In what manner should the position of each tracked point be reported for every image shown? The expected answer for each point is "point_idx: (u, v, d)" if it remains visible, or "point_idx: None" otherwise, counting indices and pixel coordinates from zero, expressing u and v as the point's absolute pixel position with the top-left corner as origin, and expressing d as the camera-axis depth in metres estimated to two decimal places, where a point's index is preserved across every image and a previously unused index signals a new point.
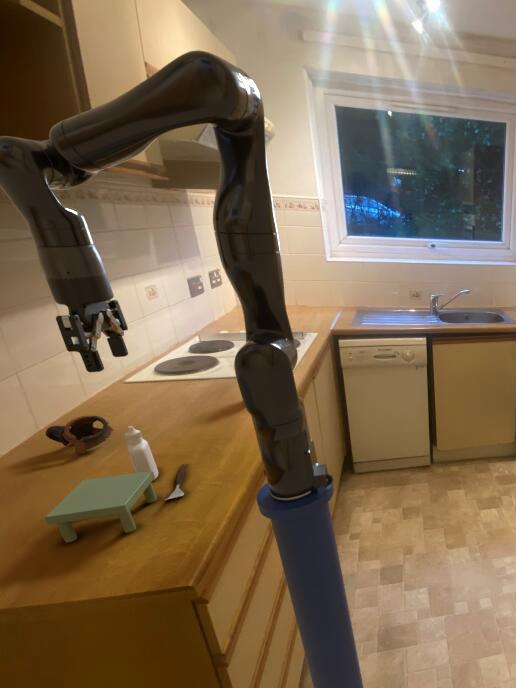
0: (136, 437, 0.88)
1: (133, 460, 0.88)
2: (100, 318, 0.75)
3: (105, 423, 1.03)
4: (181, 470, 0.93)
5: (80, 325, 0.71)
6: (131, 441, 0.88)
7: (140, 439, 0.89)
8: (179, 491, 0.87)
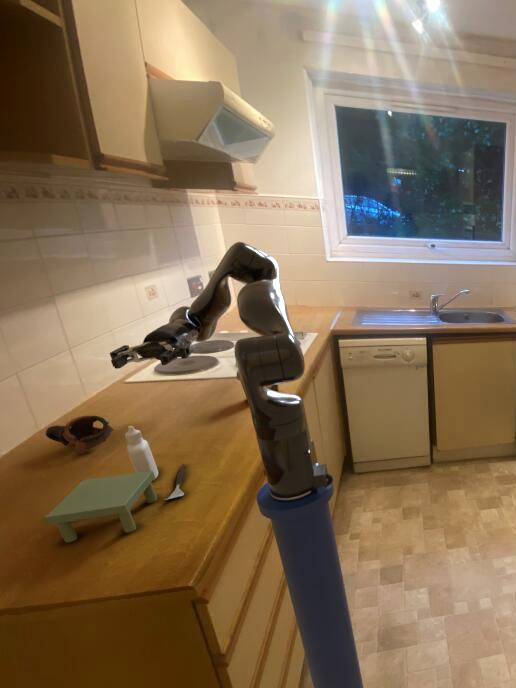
0: (136, 437, 0.88)
1: (133, 460, 0.88)
2: (145, 342, 1.00)
3: (105, 423, 1.03)
4: (181, 470, 0.93)
5: (123, 347, 0.99)
6: (131, 441, 0.88)
7: (140, 439, 0.89)
8: (179, 491, 0.87)
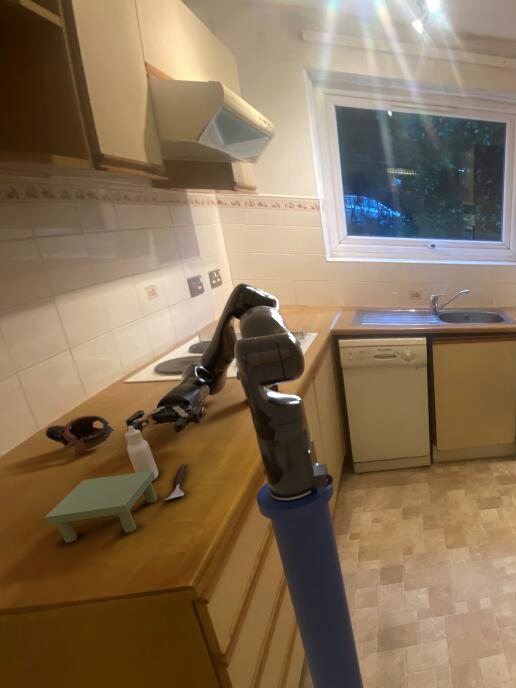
0: (136, 437, 0.88)
1: (133, 460, 0.88)
2: (159, 408, 1.03)
3: (105, 423, 1.03)
4: (181, 470, 0.93)
5: (138, 413, 1.02)
6: (131, 441, 0.88)
7: (140, 439, 0.89)
8: (179, 491, 0.87)
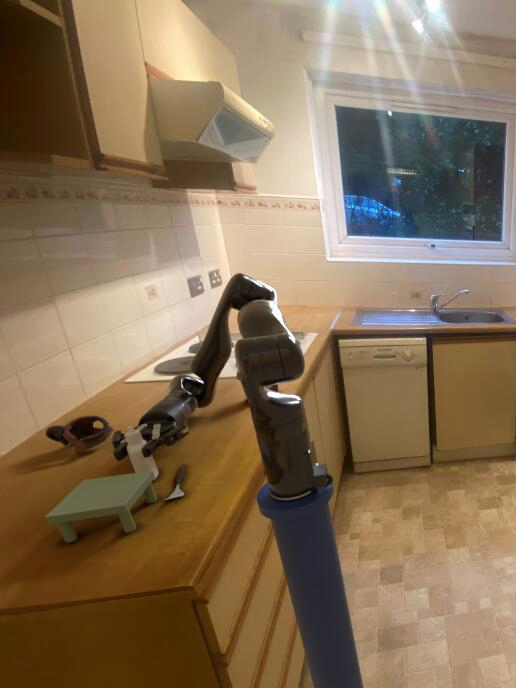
0: (136, 437, 0.88)
1: (133, 460, 0.88)
2: (141, 426, 0.94)
3: (105, 423, 1.03)
4: (181, 470, 0.93)
5: (118, 433, 0.93)
6: (130, 441, 0.88)
7: (140, 439, 0.89)
8: (179, 491, 0.87)
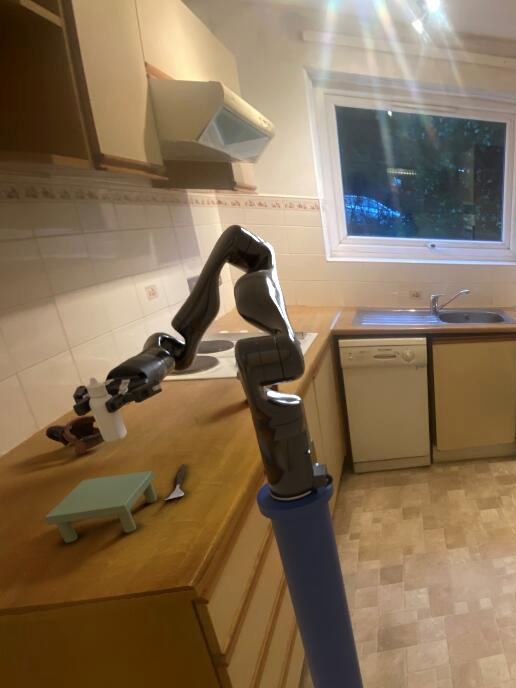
0: (99, 390, 0.78)
1: (96, 416, 0.78)
2: (108, 381, 0.85)
3: None
4: (181, 470, 0.93)
5: (82, 388, 0.83)
6: (93, 394, 0.78)
7: (104, 393, 0.79)
8: (179, 491, 0.87)
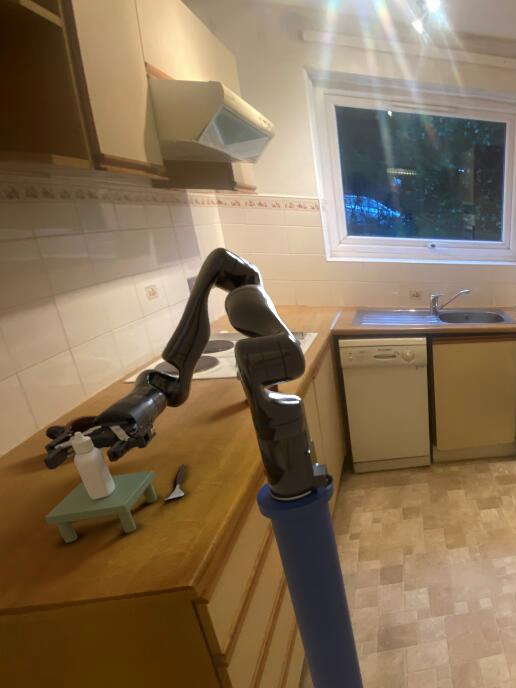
0: (85, 445, 0.73)
1: (81, 473, 0.73)
2: (93, 428, 0.79)
3: None
4: (181, 470, 0.93)
5: (65, 435, 0.78)
6: (78, 450, 0.73)
7: (90, 448, 0.74)
8: (179, 491, 0.87)
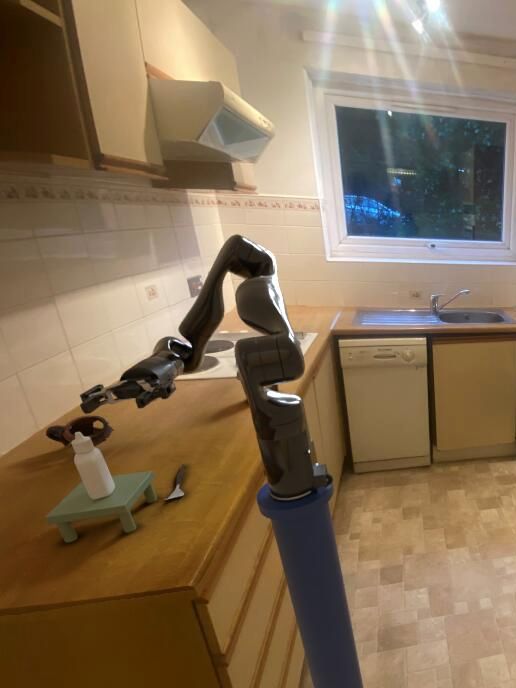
0: (85, 445, 0.73)
1: (81, 473, 0.73)
2: (121, 381, 0.89)
3: (105, 423, 1.03)
4: (181, 470, 0.93)
5: (96, 387, 0.88)
6: (78, 450, 0.73)
7: (90, 448, 0.74)
8: (179, 491, 0.87)
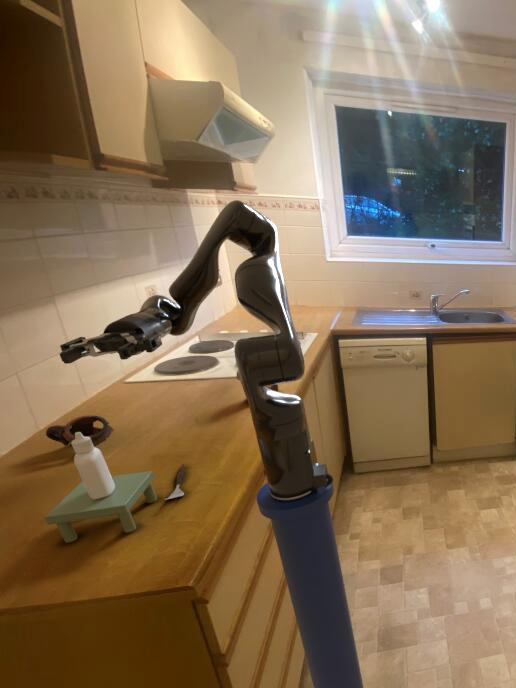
0: (85, 445, 0.73)
1: (81, 473, 0.73)
2: (104, 334, 0.85)
3: (105, 423, 1.03)
4: (181, 470, 0.93)
5: (78, 339, 0.84)
6: (78, 450, 0.73)
7: (90, 448, 0.74)
8: (179, 491, 0.87)
